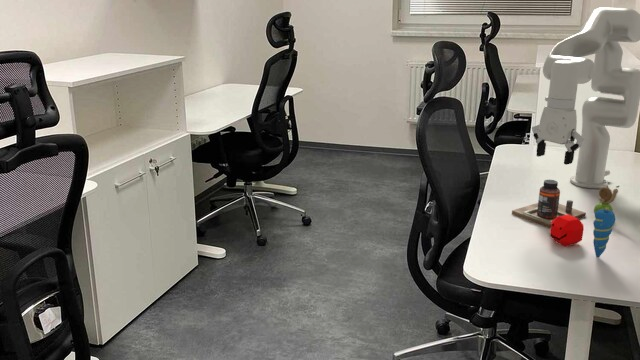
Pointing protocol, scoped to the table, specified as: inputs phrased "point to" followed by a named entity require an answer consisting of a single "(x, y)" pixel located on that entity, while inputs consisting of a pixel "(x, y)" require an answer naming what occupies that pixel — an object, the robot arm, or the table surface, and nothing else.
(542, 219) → the pin board
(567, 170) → the table surface
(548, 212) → the supplement bottle
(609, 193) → the snail figurine
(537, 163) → the table surface
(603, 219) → the ornament
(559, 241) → the ball
